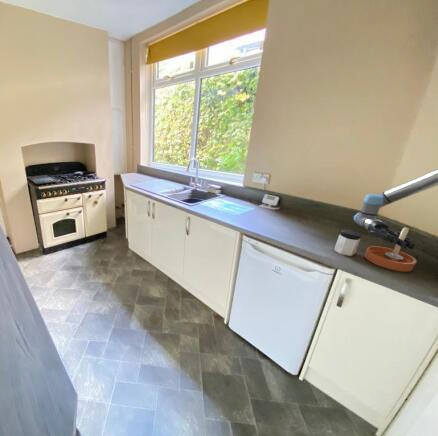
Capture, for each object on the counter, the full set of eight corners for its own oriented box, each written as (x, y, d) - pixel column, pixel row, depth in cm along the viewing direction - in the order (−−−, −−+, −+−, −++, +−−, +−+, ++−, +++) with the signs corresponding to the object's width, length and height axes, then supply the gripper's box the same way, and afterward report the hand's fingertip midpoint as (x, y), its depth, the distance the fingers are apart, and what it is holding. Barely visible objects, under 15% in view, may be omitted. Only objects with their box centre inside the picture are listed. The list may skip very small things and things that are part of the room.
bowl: (408, 262, 119) (412, 253, 117) (415, 277, 106) (420, 268, 104) (363, 251, 129) (366, 243, 127) (364, 264, 116) (368, 255, 115)
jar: (330, 248, 132) (337, 228, 127) (344, 248, 132) (351, 228, 127) (343, 256, 123) (351, 235, 119) (358, 256, 124) (366, 235, 119)
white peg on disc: (399, 260, 117) (414, 227, 111) (401, 265, 113) (417, 231, 106) (382, 256, 121) (395, 224, 115) (383, 261, 117) (397, 228, 110)
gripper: (390, 234, 129) (425, 255, 108) (358, 231, 132) (386, 251, 111) (395, 222, 126) (433, 240, 105) (362, 219, 130) (393, 237, 108)
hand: (409, 246), depth 108 cm, fingers closed on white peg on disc, 2 cm apart
